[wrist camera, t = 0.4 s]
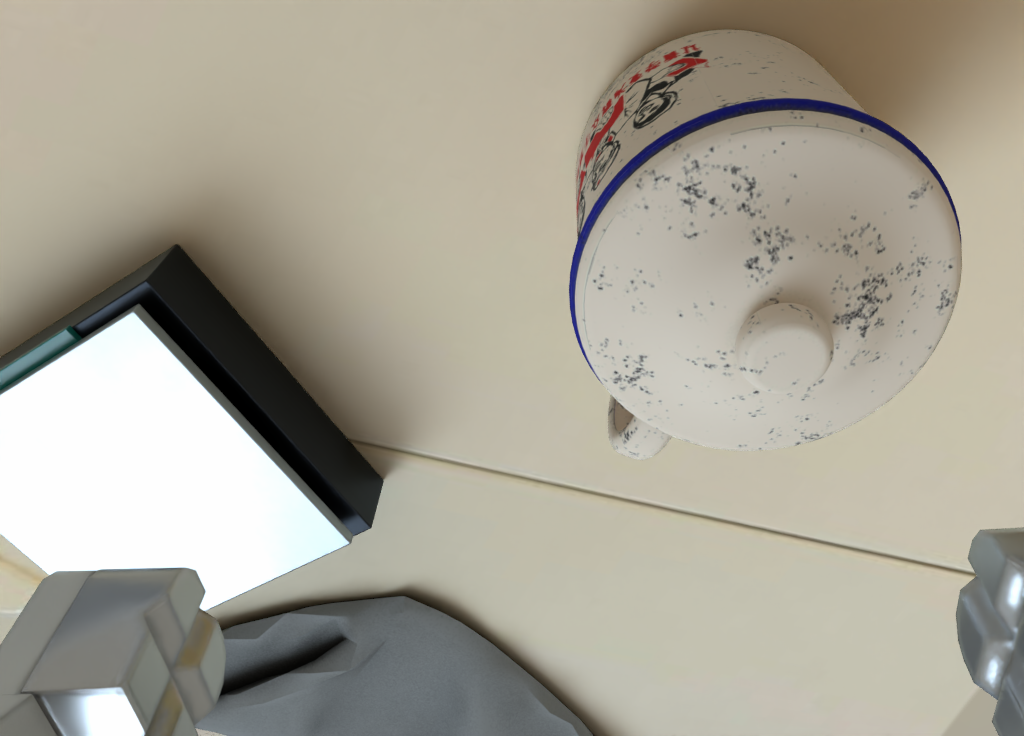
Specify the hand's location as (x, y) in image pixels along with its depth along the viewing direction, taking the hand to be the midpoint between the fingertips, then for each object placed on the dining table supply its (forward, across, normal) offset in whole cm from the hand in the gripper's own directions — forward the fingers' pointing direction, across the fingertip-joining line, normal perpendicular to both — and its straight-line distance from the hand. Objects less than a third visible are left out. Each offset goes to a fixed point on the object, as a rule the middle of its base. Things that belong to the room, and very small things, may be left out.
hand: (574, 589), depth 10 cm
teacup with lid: (+21, -4, +5) cm, 22 cm away
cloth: (+21, +11, +28) cm, 37 cm away
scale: (+21, +16, +13) cm, 29 cm away
